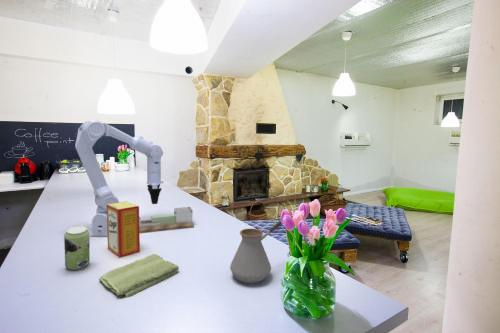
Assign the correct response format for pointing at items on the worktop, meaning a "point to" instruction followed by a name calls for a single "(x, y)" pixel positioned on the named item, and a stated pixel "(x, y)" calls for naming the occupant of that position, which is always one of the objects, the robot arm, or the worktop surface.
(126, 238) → the baking soda box
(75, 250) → the beverage can
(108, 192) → the robot arm
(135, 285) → the washcloth
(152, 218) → the green long rectangular block
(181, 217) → the end caps
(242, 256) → the coffee pot
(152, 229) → the board
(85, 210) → the worktop surface
